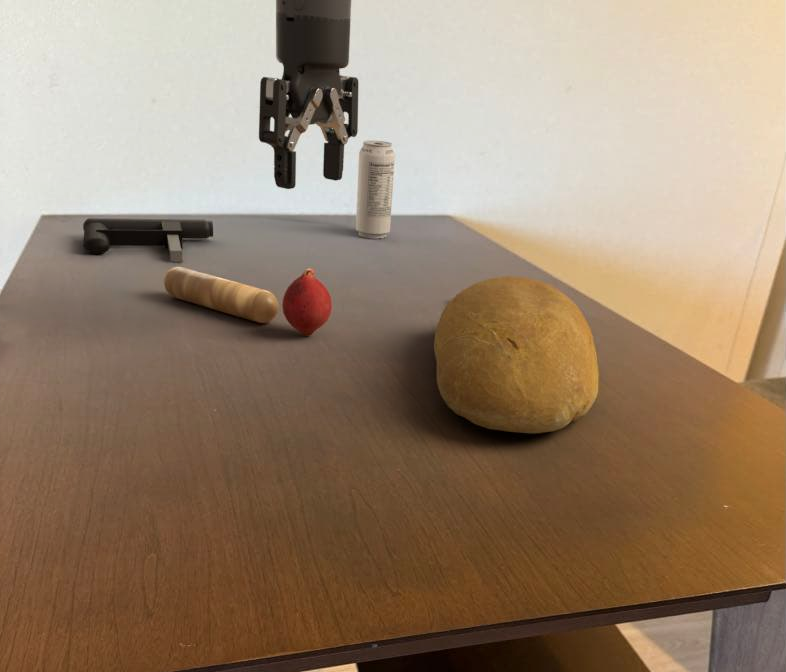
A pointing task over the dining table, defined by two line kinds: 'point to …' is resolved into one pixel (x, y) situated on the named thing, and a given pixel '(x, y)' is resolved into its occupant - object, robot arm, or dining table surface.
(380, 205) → the energy drink can
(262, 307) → the tan rounded rod
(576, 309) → the bread
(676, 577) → the dining table surface
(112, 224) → the door handle
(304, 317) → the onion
